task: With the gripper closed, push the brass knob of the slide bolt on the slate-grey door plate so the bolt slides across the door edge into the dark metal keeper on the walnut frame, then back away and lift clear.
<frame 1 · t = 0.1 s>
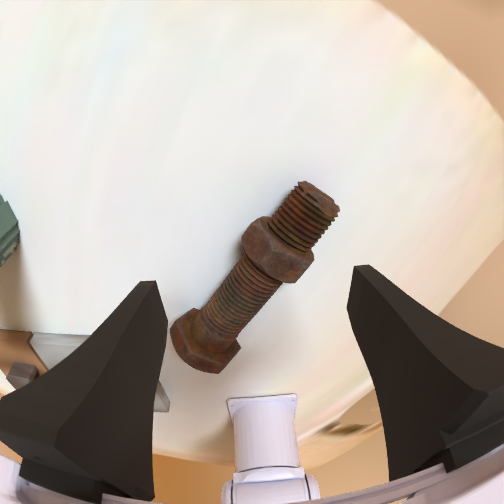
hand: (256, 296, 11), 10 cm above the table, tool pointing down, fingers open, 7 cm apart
latch plate: (64, 368, 29), on the table
bolt: (252, 262, 23), on the table
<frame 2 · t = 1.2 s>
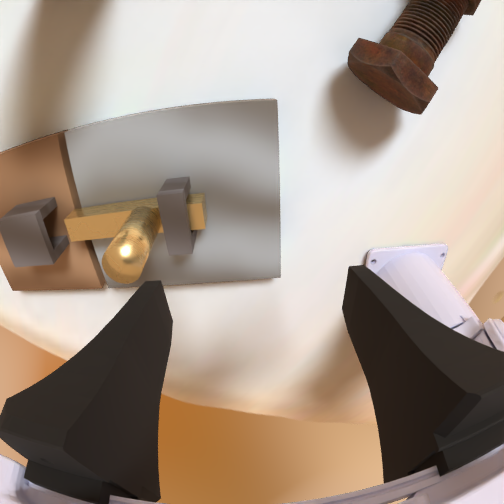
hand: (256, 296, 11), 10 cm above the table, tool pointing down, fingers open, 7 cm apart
latch plate: (104, 206, 20), on the table
bolt: (418, 14, 13), on the table
slide bolt: (121, 235, 16), point 5 cm above the table, slide at 0.0 cm
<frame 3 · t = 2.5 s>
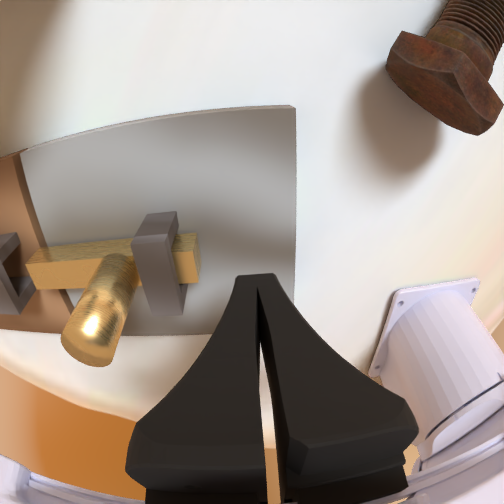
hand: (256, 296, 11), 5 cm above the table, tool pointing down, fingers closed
latch plate: (76, 242, 15), on the table
bolt: (459, 5, 9), on the table
slide bolt: (89, 293, 11), point 5 cm above the table, slide at 0.0 cm
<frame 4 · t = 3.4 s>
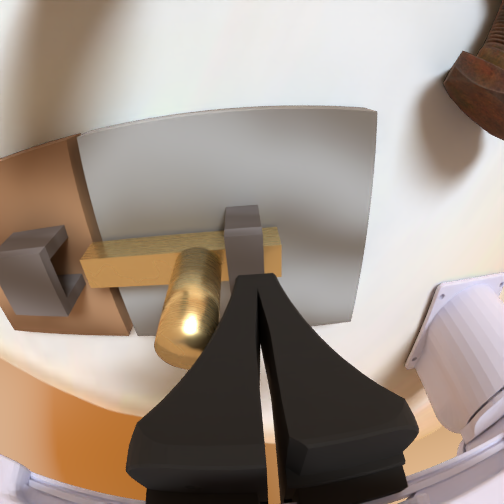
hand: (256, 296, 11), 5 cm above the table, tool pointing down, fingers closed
latch plate: (131, 236, 16), on the table
bolt: (496, 23, 9), on the table
slide bolt: (169, 290, 12), point 5 cm above the table, slide at 0.0 cm, touching gripper
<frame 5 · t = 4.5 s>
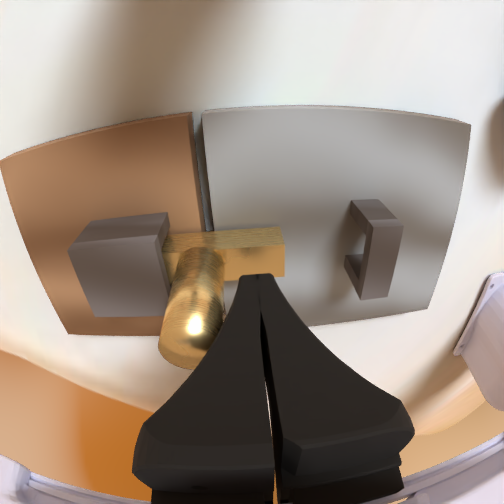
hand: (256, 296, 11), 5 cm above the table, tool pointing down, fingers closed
latch plate: (237, 227, 16), on the table
slide bolt: (172, 290, 12), point 5 cm above the table, slide at 5.6 cm, touching gripper
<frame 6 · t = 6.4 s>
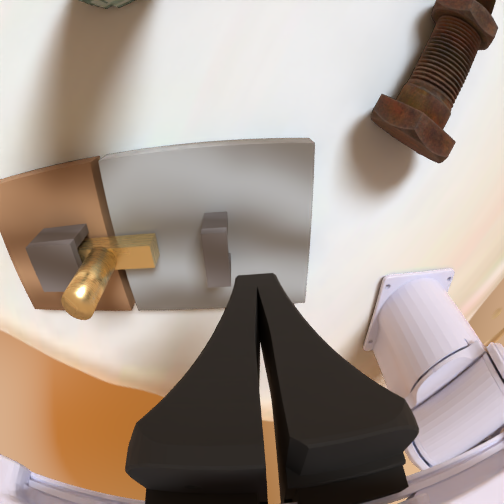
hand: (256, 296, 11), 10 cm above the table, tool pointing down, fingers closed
latch plate: (136, 233, 21), on the table
bolt: (431, 51, 15), on the table
slide bolt: (81, 273, 17), point 5 cm above the table, slide at 5.5 cm
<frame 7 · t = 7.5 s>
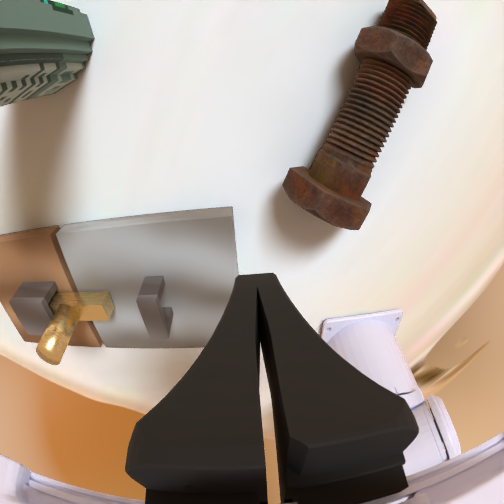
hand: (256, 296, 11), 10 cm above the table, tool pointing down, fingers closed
latch plate: (97, 286, 23), on the table
bolt: (361, 96, 17), on the table
slide bolt: (52, 325, 19), point 5 cm above the table, slide at 5.5 cm
can: (55, 49, 13), on the table
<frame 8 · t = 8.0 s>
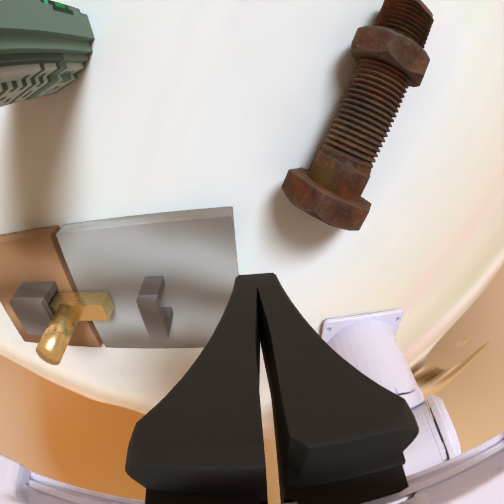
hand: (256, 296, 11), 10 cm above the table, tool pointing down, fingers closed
latch plate: (97, 286, 23), on the table
bolt: (359, 96, 17), on the table
slide bolt: (52, 325, 19), point 5 cm above the table, slide at 5.5 cm
can: (55, 49, 13), on the table
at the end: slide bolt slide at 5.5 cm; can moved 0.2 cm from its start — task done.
